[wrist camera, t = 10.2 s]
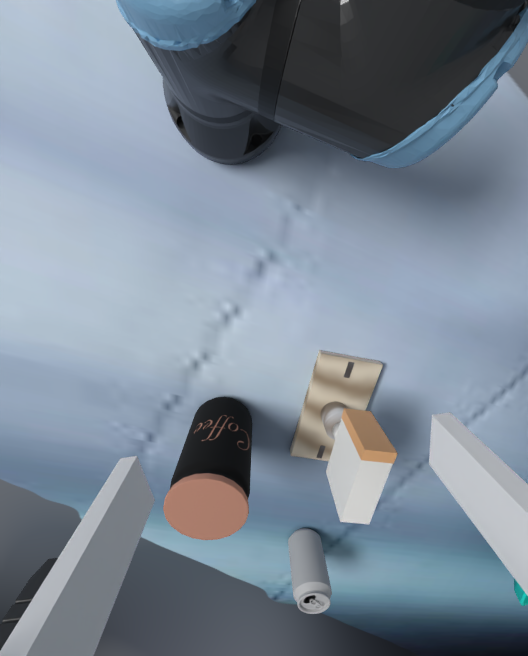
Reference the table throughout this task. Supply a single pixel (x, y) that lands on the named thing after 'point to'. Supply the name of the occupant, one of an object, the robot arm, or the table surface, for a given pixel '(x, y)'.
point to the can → (309, 571)
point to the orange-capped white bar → (358, 465)
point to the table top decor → (520, 594)
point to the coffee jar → (213, 473)
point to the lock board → (332, 400)
